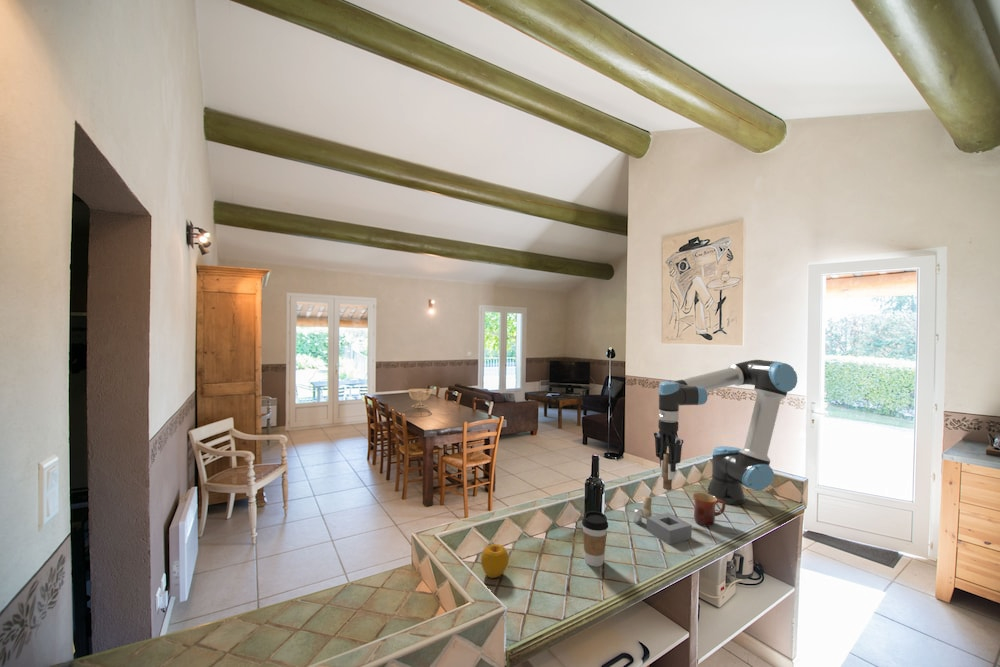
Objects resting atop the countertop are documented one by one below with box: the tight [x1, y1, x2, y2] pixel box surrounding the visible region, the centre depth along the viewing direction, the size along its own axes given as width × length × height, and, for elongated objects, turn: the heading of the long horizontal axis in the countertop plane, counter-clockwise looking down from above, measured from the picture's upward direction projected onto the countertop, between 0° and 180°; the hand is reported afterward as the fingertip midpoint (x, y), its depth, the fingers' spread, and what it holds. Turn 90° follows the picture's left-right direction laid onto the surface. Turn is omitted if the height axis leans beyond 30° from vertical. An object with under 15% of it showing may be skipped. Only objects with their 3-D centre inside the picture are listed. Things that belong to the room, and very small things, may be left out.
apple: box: [480, 543, 509, 579], centre depth 128 cm, size 8×8×9 cm
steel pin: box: [633, 507, 643, 526], centre depth 164 cm, size 3×3×5 cm
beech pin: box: [642, 495, 653, 519], centre depth 169 cm, size 3×3×8 cm
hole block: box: [645, 512, 693, 545], centre depth 155 cm, size 11×11×5 cm
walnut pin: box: [662, 452, 673, 491], centre depth 170 cm, size 3×3×14 cm
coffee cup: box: [581, 510, 609, 568], centre depth 136 cm, size 8×8×15 cm
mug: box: [692, 492, 726, 527], centre depth 165 cm, size 12×9×10 cm
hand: (667, 477), depth 170 cm, fingers closed on walnut pin, 3 cm apart
